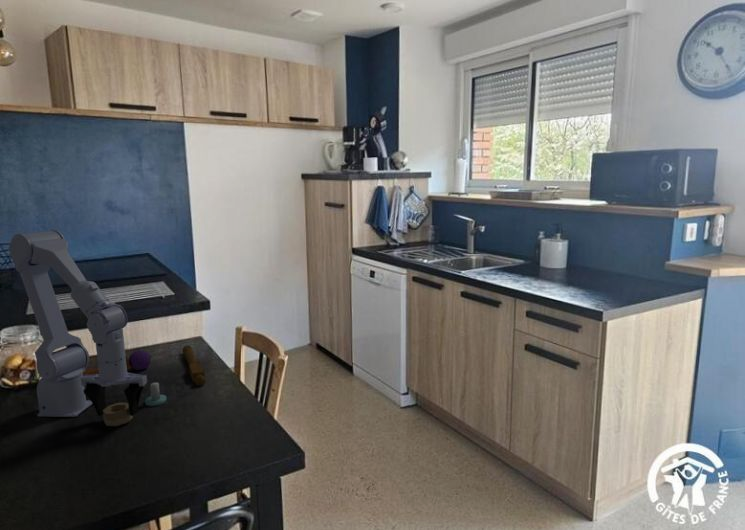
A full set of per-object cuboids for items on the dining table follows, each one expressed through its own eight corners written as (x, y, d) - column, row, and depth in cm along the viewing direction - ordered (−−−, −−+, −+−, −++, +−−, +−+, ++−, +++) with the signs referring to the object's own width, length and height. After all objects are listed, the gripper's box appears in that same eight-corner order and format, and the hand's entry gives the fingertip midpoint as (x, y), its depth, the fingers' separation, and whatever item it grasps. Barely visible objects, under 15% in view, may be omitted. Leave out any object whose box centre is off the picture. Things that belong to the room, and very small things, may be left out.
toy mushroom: (141, 406, 122) (139, 388, 122) (151, 397, 127) (149, 380, 127) (161, 406, 122) (159, 388, 121) (170, 397, 127) (168, 380, 126)
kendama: (71, 367, 139) (146, 346, 150) (76, 387, 139) (150, 365, 151) (72, 369, 134) (150, 348, 145) (77, 390, 134) (154, 367, 146)
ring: (100, 425, 113) (98, 413, 112) (113, 414, 119) (112, 402, 118) (123, 426, 113) (122, 413, 112) (136, 414, 118) (135, 402, 118)
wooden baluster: (191, 344, 160) (206, 375, 134) (192, 353, 161) (207, 386, 135) (181, 345, 159) (194, 378, 133) (182, 354, 159) (195, 388, 133)
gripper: (69, 365, 109) (77, 421, 112) (133, 365, 109) (139, 422, 111) (88, 353, 116) (95, 407, 119) (149, 353, 116) (154, 407, 118)
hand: (117, 413), depth 115 cm, fingers open, 7 cm apart
